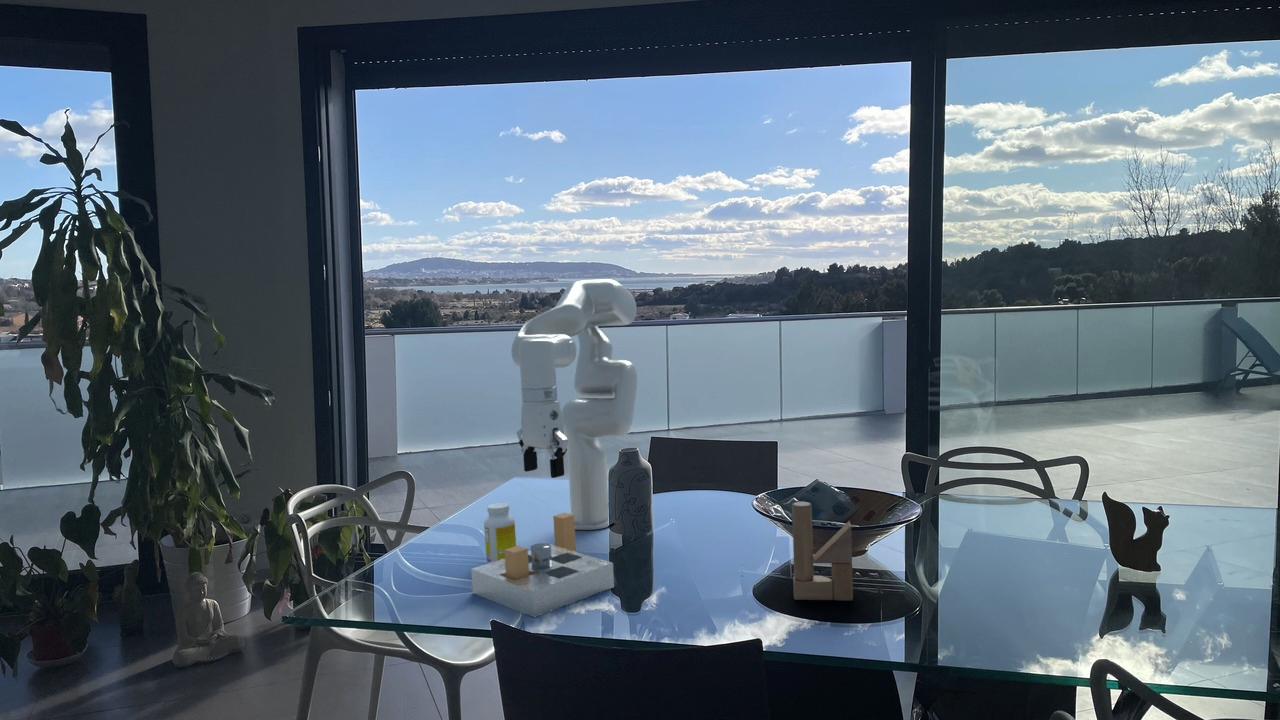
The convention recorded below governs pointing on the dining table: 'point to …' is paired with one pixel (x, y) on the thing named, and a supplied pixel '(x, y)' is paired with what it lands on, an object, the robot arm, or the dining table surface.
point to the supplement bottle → (498, 531)
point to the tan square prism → (564, 531)
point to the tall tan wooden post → (516, 562)
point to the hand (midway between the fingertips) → (544, 473)
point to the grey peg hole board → (544, 580)
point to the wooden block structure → (820, 560)
